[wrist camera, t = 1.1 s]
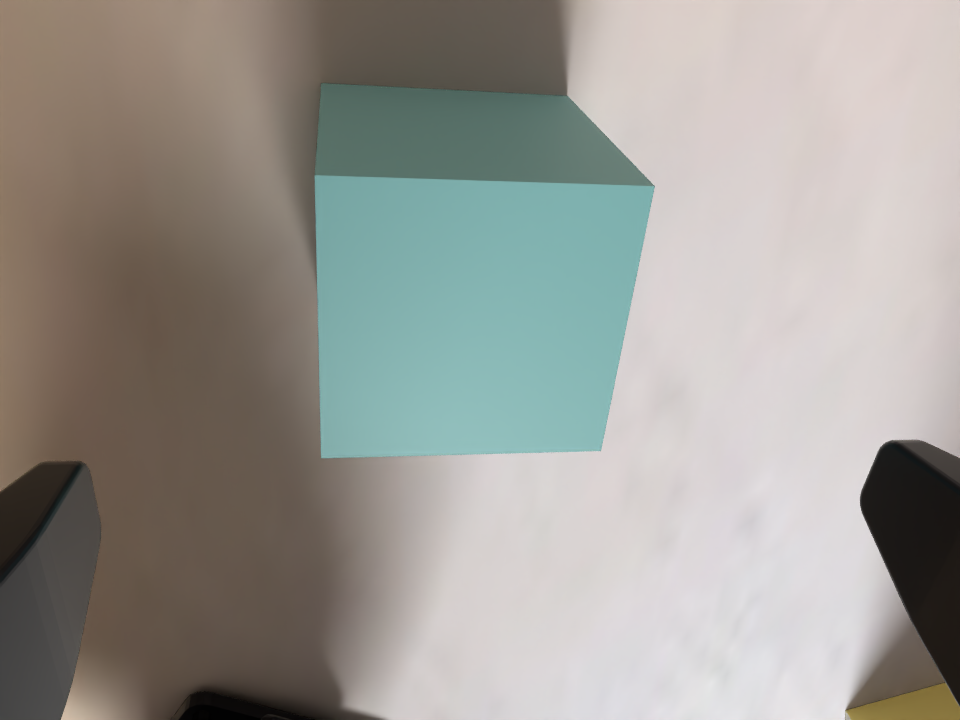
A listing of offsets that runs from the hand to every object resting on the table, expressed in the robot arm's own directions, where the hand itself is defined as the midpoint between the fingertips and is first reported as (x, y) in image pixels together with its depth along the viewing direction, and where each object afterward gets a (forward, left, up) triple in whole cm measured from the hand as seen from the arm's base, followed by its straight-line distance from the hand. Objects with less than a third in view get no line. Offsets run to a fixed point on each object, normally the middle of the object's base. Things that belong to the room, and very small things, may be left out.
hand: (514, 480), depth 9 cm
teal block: (0, 0, -8) cm, 8 cm away
